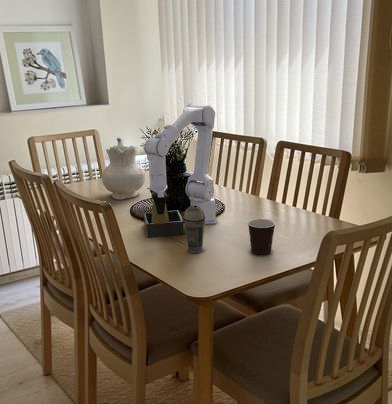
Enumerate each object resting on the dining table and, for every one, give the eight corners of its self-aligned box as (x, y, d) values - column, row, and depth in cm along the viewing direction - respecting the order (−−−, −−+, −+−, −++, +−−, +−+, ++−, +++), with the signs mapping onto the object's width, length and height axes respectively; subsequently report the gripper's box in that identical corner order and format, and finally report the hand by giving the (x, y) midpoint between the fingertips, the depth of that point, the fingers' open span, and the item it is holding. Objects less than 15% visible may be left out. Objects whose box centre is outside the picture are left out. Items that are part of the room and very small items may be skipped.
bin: (178, 222, 210) (178, 210, 209) (183, 234, 198) (183, 221, 196) (144, 225, 208) (143, 213, 206) (147, 237, 196) (146, 224, 194)
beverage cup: (190, 256, 179) (188, 197, 172) (180, 249, 185) (178, 192, 178) (210, 252, 182) (209, 194, 175) (199, 245, 188) (198, 188, 181)
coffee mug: (267, 258, 175) (268, 229, 172) (243, 253, 179) (243, 225, 176) (282, 247, 184) (283, 218, 181) (259, 242, 189) (259, 215, 185)
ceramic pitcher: (98, 194, 255) (89, 141, 245) (138, 185, 262) (130, 133, 252) (112, 206, 236) (103, 150, 227) (154, 196, 243) (146, 141, 234)
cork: (166, 224, 188) (165, 193, 184) (149, 223, 189) (147, 192, 185) (170, 218, 194) (169, 188, 190) (154, 217, 195) (152, 187, 191)
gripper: (144, 169, 192) (146, 206, 196) (147, 179, 178) (150, 219, 183) (164, 168, 193) (165, 204, 197) (169, 178, 179) (171, 217, 184)
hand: (159, 211), depth 190 cm, fingers closed on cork, 5 cm apart
